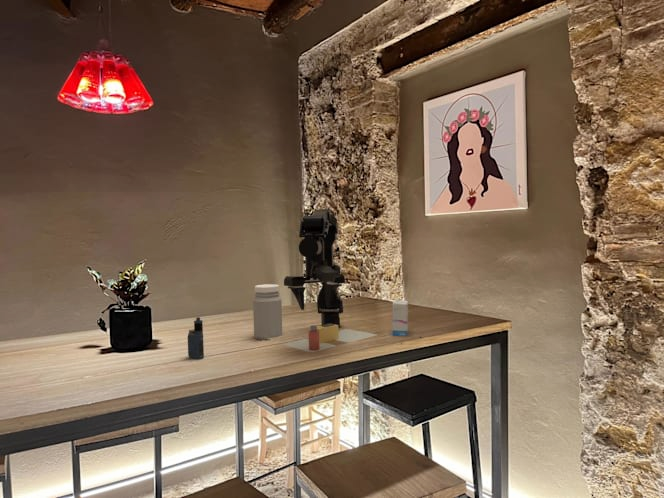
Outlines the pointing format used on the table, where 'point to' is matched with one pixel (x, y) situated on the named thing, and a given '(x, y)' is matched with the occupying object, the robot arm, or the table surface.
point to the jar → (267, 312)
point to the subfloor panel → (344, 338)
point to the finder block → (328, 332)
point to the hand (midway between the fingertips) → (315, 308)
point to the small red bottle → (314, 338)
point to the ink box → (400, 318)
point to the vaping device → (196, 340)
